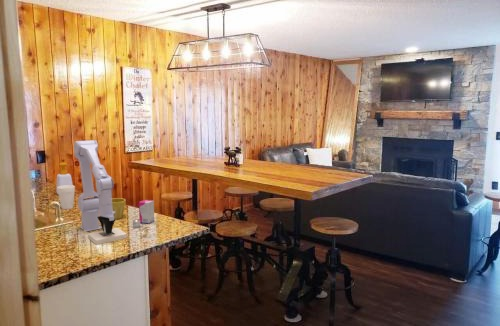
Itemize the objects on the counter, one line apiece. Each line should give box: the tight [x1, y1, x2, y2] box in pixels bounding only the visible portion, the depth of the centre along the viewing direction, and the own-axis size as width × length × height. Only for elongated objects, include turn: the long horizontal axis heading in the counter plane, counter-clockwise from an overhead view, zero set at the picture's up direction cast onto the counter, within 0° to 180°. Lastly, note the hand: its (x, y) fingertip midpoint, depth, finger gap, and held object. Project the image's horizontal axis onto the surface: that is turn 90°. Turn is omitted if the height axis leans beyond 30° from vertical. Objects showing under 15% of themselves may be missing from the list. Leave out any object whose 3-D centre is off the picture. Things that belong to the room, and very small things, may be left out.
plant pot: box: [112, 197, 126, 220], centre depth 210 cm, size 10×10×10 cm
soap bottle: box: [55, 162, 73, 196], centre depth 266 cm, size 10×14×22 cm
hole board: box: [87, 227, 128, 245], centre depth 178 cm, size 12×14×2 cm
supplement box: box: [138, 199, 155, 225], centre depth 202 cm, size 6×6×12 cm
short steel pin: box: [132, 218, 141, 229], centre depth 194 cm, size 4×4×4 cm
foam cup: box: [56, 185, 76, 210], centre depth 229 cm, size 10×9×13 cm
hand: (107, 232), depth 178 cm, fingers open, 4 cm apart
